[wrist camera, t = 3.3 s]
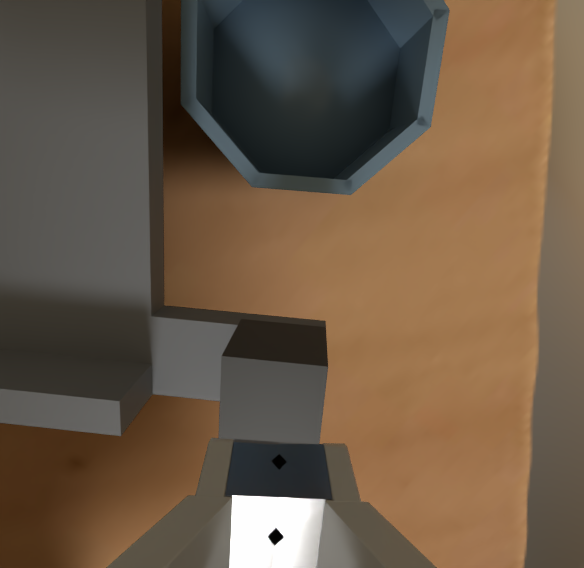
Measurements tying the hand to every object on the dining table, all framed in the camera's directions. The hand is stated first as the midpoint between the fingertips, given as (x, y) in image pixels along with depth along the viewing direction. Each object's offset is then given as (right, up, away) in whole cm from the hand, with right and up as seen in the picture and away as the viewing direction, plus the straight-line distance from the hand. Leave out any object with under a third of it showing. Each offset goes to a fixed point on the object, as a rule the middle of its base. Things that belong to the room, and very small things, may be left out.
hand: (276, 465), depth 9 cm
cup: (+1, +14, +11) cm, 18 cm away
